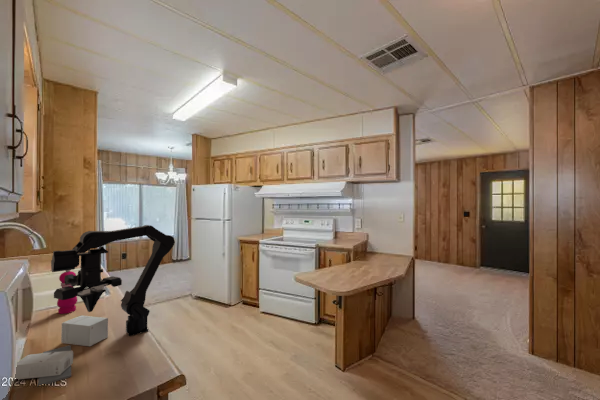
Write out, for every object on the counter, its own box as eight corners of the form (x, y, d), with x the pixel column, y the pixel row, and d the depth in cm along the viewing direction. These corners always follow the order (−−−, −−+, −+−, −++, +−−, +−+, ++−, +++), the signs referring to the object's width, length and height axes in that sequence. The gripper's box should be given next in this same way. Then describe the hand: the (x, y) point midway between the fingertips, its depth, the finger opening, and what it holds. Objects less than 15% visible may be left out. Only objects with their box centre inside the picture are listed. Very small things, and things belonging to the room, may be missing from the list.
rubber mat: (70, 346, 95) (70, 344, 95) (71, 376, 78) (71, 374, 78) (43, 353, 90) (43, 351, 90) (37, 387, 74) (37, 385, 74)
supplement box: (60, 343, 97) (89, 347, 94) (61, 322, 97) (89, 325, 94) (81, 334, 104) (108, 337, 101) (81, 314, 104) (108, 317, 102)
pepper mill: (61, 309, 128) (62, 267, 129) (80, 307, 131) (80, 266, 131) (53, 315, 122) (54, 270, 122) (72, 313, 124) (73, 269, 124)
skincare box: (61, 360, 78) (10, 364, 75) (60, 376, 78) (10, 381, 75) (74, 349, 84) (28, 353, 81) (73, 364, 84) (27, 368, 81)
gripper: (104, 260, 107) (104, 299, 107) (45, 270, 90) (44, 317, 90) (123, 262, 103) (122, 304, 102) (64, 274, 86) (62, 323, 85)
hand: (90, 311), depth 95 cm, fingers closed
